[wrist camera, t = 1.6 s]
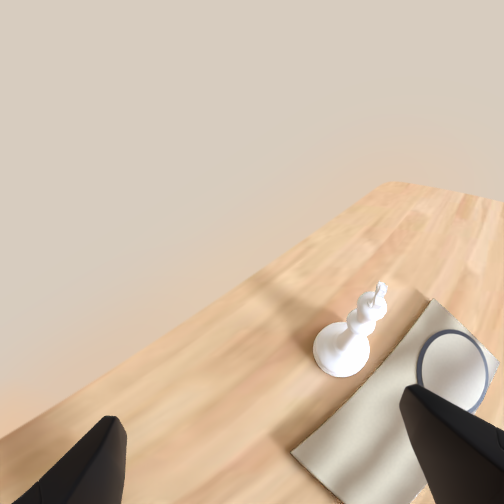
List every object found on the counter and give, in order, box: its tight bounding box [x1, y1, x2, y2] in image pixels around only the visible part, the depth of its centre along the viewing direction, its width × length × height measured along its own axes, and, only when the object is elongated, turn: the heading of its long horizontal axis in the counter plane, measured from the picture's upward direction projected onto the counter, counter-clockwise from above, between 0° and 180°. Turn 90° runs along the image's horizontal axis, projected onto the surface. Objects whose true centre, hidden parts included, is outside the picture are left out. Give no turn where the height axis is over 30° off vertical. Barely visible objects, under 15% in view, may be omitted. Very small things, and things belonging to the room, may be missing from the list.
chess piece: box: [313, 282, 387, 377], centre depth 20 cm, size 5×5×10 cm
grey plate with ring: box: [290, 298, 500, 504], centre depth 19 cm, size 11×20×1 cm, turn 129°
